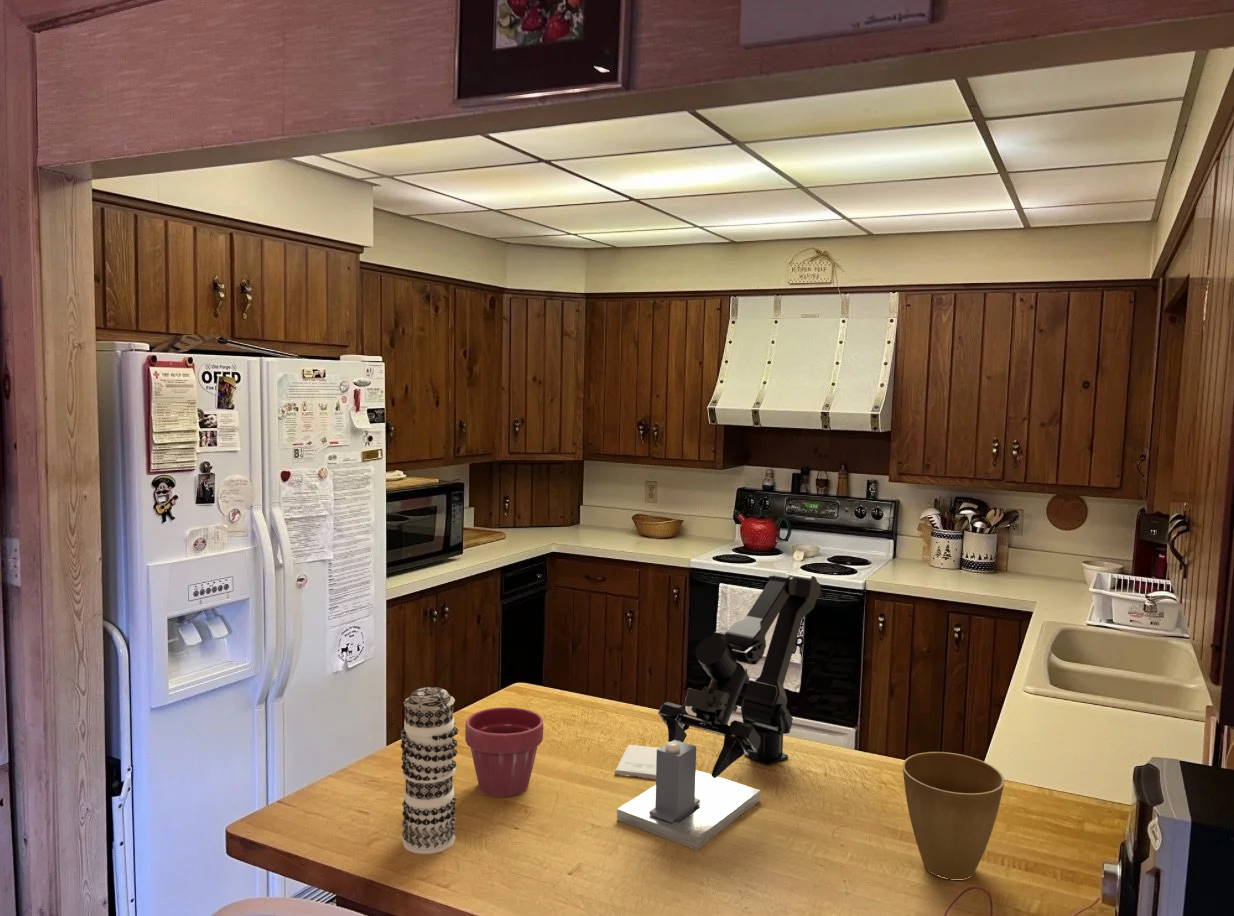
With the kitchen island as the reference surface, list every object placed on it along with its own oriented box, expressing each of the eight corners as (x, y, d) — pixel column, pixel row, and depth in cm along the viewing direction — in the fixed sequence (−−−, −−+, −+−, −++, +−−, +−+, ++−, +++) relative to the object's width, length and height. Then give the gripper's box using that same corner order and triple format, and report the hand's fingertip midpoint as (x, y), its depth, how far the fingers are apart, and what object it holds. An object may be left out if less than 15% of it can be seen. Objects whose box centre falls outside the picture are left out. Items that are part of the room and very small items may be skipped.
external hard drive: (667, 756, 185) (656, 782, 173) (627, 752, 187) (614, 777, 175) (667, 748, 185) (656, 774, 173) (628, 744, 187) (614, 769, 175)
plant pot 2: (905, 836, 153) (910, 744, 152) (1001, 858, 147) (1007, 762, 145) (890, 879, 140) (895, 779, 138) (995, 906, 133) (1001, 801, 132)
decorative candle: (457, 825, 154) (458, 681, 152) (457, 853, 145) (458, 700, 143) (402, 828, 153) (402, 683, 150) (398, 857, 143) (398, 703, 141)
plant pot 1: (533, 766, 178) (533, 702, 177) (550, 798, 164) (551, 729, 163) (459, 775, 173) (459, 709, 172) (471, 808, 160) (472, 738, 159)
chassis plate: (684, 776, 175) (685, 766, 174) (759, 800, 165) (760, 790, 165) (616, 820, 157) (617, 808, 157) (696, 850, 147) (696, 838, 147)
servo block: (678, 807, 162) (680, 731, 161) (699, 814, 159) (702, 737, 158) (648, 826, 155) (650, 747, 154) (671, 835, 152) (673, 754, 151)
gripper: (664, 659, 168) (628, 735, 160) (754, 680, 157) (721, 764, 149) (686, 689, 175) (653, 763, 168) (774, 711, 164) (743, 792, 157)
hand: (690, 770), depth 160 cm, fingers open, 9 cm apart
